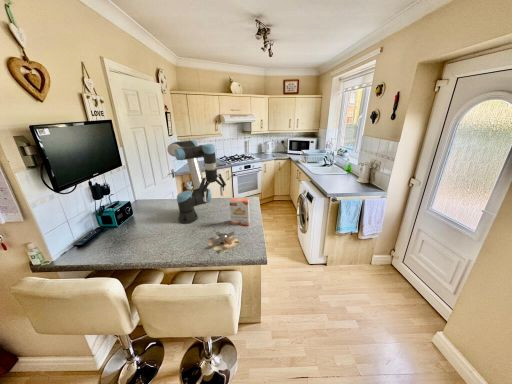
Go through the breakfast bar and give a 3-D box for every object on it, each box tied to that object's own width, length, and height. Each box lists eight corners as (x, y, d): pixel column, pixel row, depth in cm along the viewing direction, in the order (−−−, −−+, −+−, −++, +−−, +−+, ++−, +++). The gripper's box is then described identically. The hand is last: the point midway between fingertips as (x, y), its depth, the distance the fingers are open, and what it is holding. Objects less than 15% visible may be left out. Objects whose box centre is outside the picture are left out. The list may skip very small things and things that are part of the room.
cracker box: (231, 225, 154) (229, 201, 146) (232, 221, 159) (230, 197, 152) (249, 226, 152) (247, 201, 144) (250, 222, 158) (249, 198, 150)
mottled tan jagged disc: (206, 243, 133) (205, 239, 132) (227, 233, 144) (227, 229, 142) (219, 256, 121) (219, 251, 120) (242, 244, 132) (241, 240, 130)
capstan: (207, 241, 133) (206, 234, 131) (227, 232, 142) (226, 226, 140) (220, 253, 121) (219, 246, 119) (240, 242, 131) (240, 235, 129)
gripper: (195, 174, 120) (199, 205, 128) (229, 166, 135) (231, 194, 143) (190, 171, 125) (194, 201, 133) (223, 164, 140) (225, 191, 148)
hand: (213, 198), depth 138 cm, fingers open, 13 cm apart
